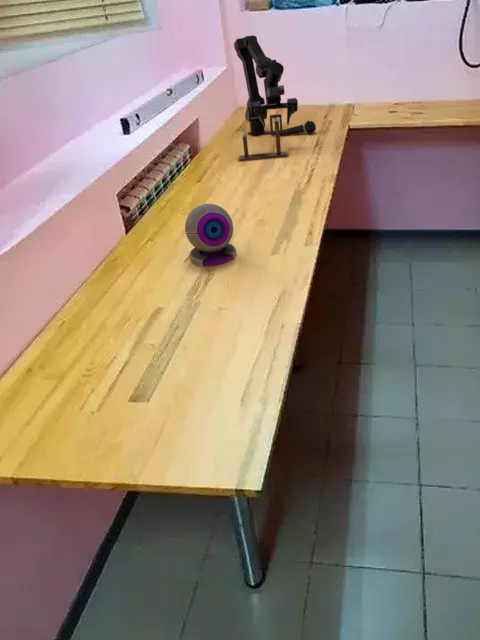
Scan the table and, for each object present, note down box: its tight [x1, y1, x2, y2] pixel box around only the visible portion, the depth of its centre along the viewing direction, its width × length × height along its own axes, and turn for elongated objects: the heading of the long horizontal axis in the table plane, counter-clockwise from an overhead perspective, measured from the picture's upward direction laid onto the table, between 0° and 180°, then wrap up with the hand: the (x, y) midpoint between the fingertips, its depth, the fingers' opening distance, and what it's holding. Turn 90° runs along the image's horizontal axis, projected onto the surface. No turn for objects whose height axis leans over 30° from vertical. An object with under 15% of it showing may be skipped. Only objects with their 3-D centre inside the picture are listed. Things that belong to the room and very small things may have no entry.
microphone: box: [270, 120, 317, 137], centre depth 273 cm, size 6×6×20 cm
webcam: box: [184, 203, 238, 267], centre depth 169 cm, size 13×13×15 cm
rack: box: [238, 117, 288, 162], centre depth 246 cm, size 8×19×14 cm, turn 96°
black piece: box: [264, 113, 288, 136], centre depth 246 cm, size 2×9×7 cm, turn 96°
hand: (276, 125), depth 245 cm, fingers open, 9 cm apart
